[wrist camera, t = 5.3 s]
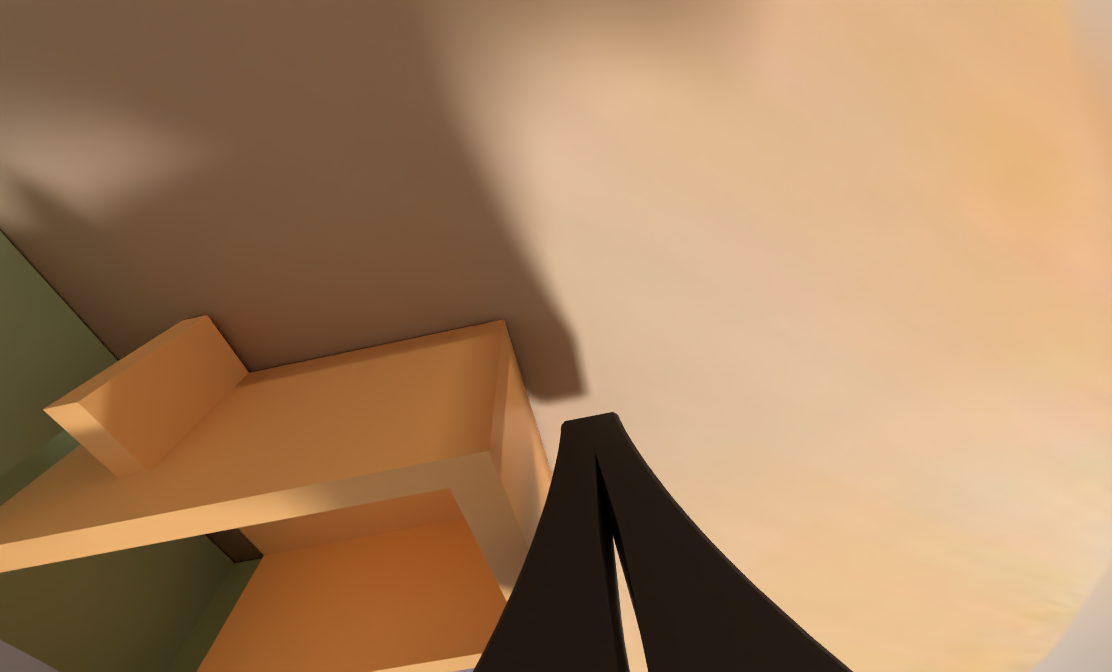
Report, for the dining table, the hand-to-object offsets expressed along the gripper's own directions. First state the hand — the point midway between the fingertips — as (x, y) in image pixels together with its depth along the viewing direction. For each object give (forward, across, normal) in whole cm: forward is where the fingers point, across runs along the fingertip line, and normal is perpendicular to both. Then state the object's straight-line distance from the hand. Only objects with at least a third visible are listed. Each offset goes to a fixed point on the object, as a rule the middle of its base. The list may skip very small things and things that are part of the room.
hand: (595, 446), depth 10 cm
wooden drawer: (+1, +6, 0) cm, 6 cm away
